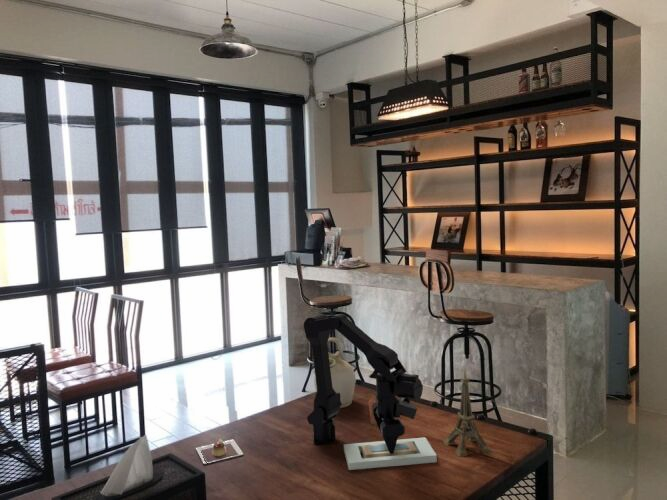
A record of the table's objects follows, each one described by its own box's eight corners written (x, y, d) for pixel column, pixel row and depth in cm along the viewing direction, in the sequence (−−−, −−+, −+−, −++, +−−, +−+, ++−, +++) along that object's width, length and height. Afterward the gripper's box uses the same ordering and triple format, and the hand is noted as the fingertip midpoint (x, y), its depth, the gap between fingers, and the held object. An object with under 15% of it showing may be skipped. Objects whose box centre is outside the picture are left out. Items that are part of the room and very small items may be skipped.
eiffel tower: (442, 442, 165) (440, 362, 163) (473, 436, 168) (471, 358, 166) (459, 457, 155) (456, 372, 153) (492, 451, 157) (490, 367, 155)
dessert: (203, 467, 157) (202, 451, 156) (195, 451, 167) (194, 436, 167) (244, 457, 162) (243, 442, 161) (233, 442, 173) (232, 428, 172)
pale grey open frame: (348, 470, 150) (348, 463, 150) (344, 450, 162) (343, 444, 162) (436, 462, 152) (436, 455, 152) (425, 443, 164) (425, 437, 164)
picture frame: (365, 464, 153) (365, 454, 153) (362, 455, 159) (361, 444, 159) (417, 460, 155) (416, 449, 155) (412, 450, 161) (411, 440, 161)
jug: (342, 413, 191) (339, 344, 189) (307, 406, 200) (303, 340, 198) (364, 399, 204) (361, 334, 202) (329, 393, 212) (326, 330, 210)
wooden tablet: (401, 427, 179) (401, 422, 178) (371, 428, 179) (371, 423, 179) (393, 398, 205) (393, 394, 205) (367, 399, 205) (367, 395, 205)
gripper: (422, 403, 147) (424, 458, 148) (406, 381, 166) (408, 430, 167) (381, 406, 146) (384, 462, 147) (370, 384, 165) (372, 433, 166)
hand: (388, 446), depth 157 cm, fingers open, 9 cm apart
